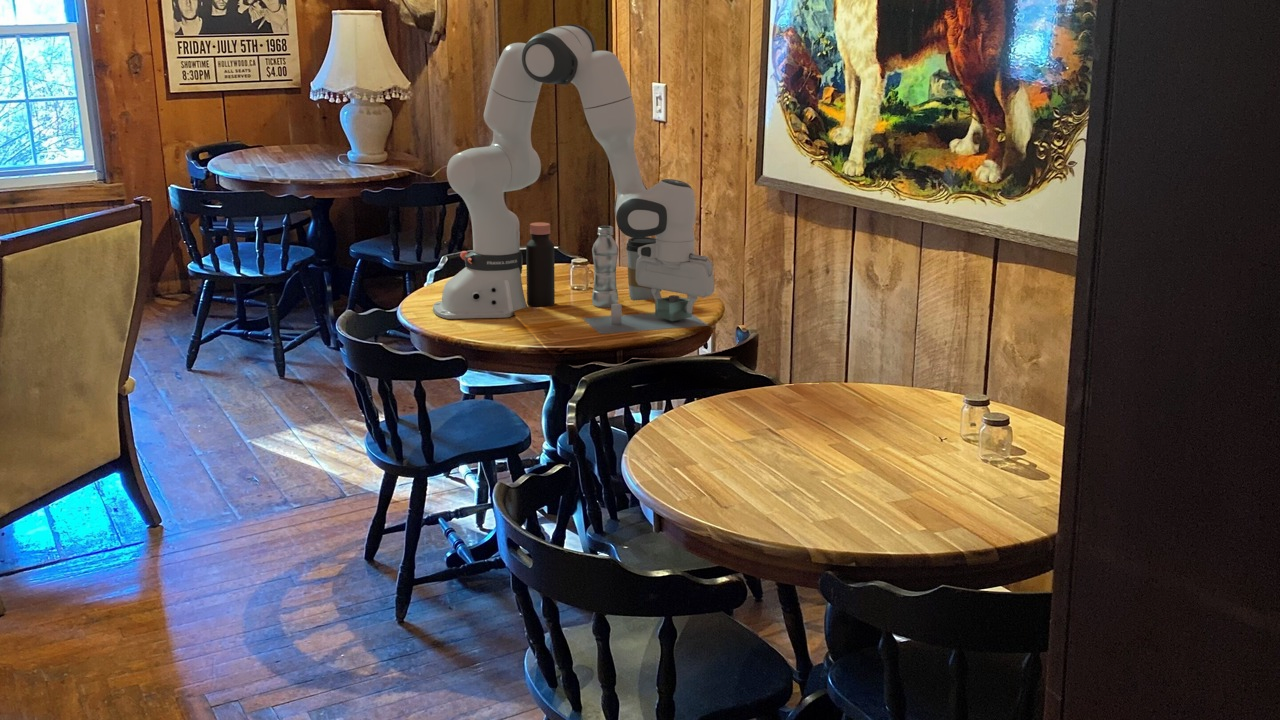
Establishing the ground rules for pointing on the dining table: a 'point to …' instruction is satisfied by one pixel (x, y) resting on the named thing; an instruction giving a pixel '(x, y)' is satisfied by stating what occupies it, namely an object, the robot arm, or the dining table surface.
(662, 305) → the collar
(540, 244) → the vinegar
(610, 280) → the plastic bottle
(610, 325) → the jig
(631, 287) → the coffee cup
